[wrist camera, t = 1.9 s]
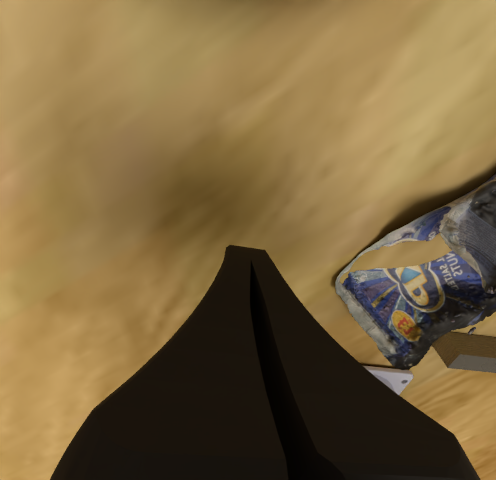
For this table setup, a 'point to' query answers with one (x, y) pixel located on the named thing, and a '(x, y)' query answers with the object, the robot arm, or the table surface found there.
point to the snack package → (430, 280)
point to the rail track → (467, 351)
